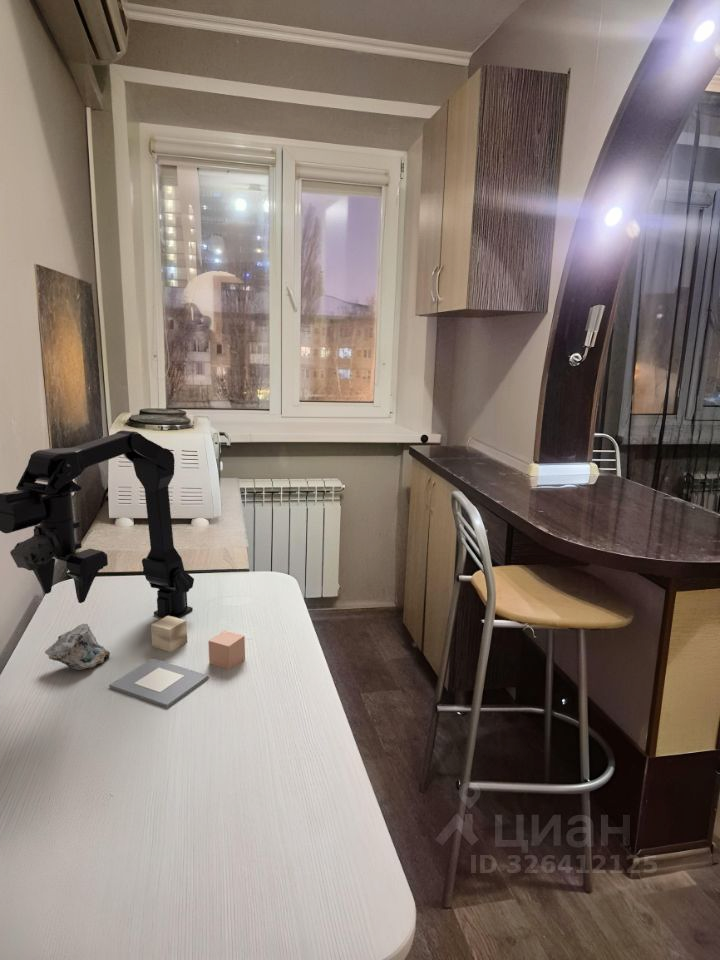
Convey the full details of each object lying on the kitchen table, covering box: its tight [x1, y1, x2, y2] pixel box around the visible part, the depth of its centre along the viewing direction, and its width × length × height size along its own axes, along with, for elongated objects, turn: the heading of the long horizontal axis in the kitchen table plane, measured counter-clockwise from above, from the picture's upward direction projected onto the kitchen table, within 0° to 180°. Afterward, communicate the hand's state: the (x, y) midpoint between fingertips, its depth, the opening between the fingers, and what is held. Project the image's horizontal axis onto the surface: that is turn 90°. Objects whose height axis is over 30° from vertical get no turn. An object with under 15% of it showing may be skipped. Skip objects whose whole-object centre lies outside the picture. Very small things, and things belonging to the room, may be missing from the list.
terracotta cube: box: [207, 630, 246, 670], centre depth 126 cm, size 5×5×5 cm
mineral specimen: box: [44, 623, 111, 671], centre depth 124 cm, size 10×8×10 cm
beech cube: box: [150, 616, 188, 653], centre depth 132 cm, size 5×5×5 cm
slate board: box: [108, 657, 209, 709], centre depth 118 cm, size 11×14×1 cm
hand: (64, 597), depth 119 cm, fingers open, 9 cm apart
